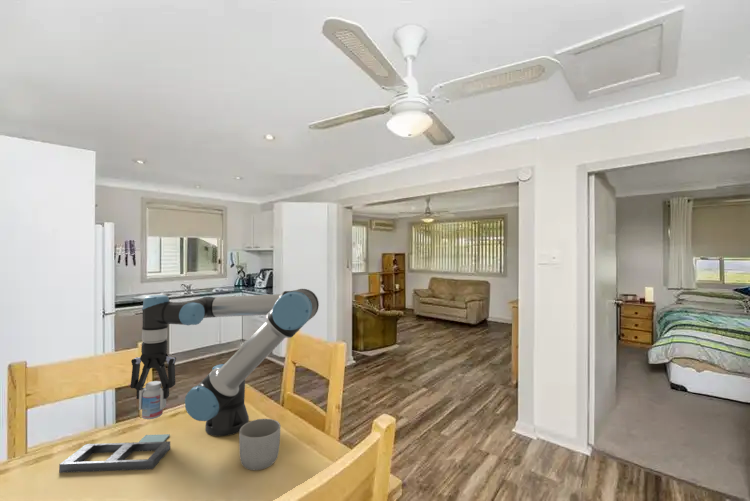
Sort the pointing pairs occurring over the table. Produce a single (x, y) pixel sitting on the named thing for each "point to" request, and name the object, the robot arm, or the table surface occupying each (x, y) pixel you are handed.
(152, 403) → the pill bottle
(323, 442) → the table surface
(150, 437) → the coaster
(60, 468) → the rack frame
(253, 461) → the planter
